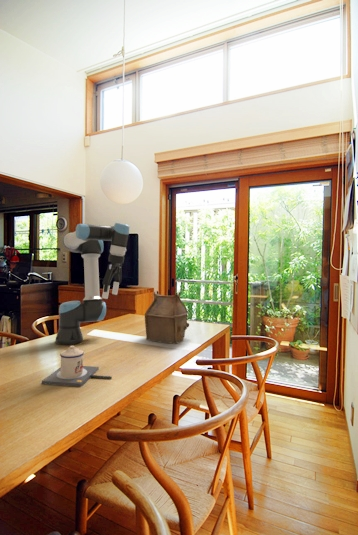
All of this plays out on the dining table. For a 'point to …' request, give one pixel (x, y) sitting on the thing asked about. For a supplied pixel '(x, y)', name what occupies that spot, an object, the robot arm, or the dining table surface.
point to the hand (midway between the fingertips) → (109, 296)
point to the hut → (166, 319)
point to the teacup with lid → (71, 362)
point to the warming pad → (77, 381)
